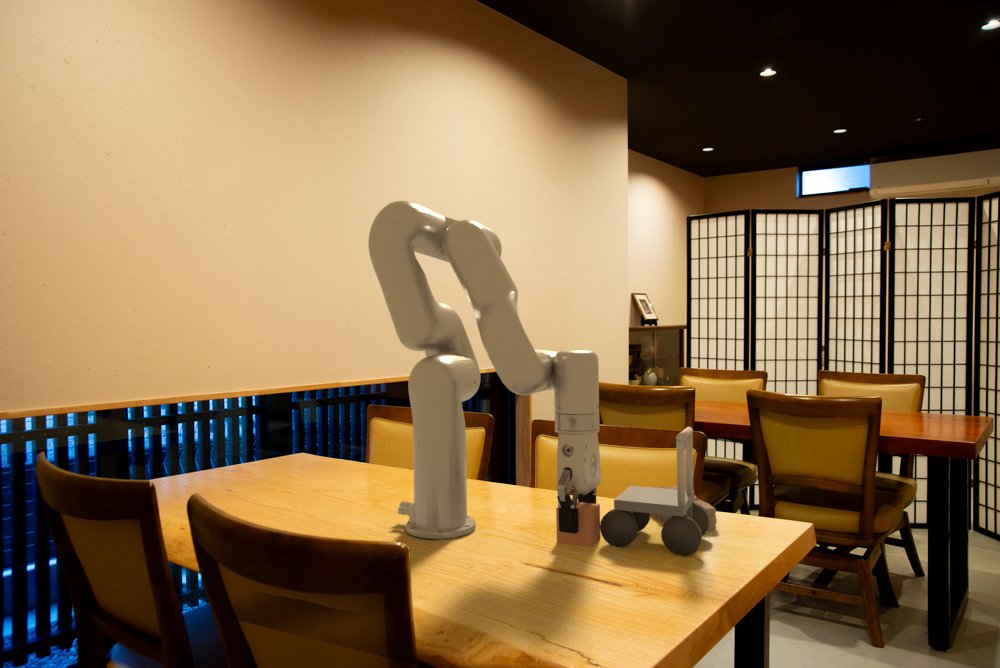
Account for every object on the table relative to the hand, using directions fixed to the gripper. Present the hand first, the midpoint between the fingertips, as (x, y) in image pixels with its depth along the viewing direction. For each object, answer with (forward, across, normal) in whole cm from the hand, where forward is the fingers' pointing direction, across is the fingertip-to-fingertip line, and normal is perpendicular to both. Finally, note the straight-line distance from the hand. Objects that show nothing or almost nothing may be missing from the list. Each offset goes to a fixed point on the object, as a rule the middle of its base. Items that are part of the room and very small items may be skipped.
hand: (578, 524), depth 106 cm
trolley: (+3, +4, -12) cm, 13 cm away
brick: (+3, +20, -13) cm, 24 cm away
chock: (+3, 0, 0) cm, 3 cm away
